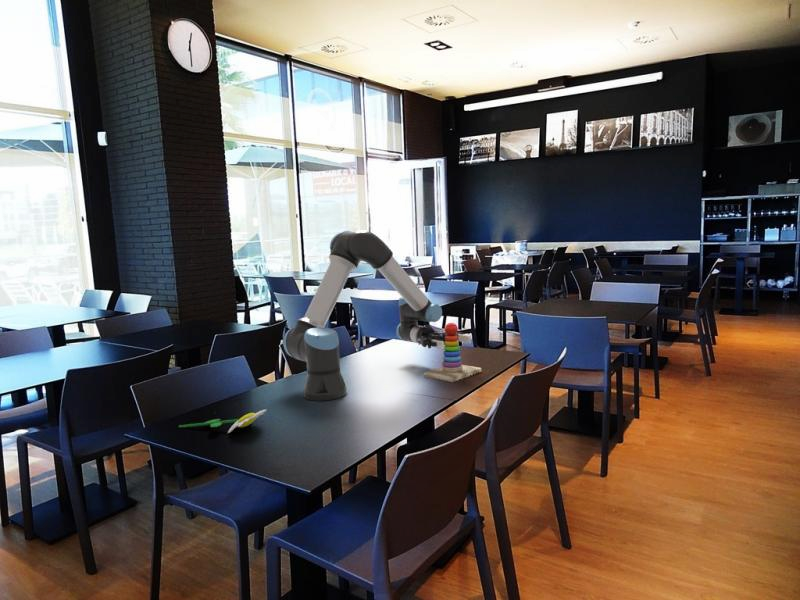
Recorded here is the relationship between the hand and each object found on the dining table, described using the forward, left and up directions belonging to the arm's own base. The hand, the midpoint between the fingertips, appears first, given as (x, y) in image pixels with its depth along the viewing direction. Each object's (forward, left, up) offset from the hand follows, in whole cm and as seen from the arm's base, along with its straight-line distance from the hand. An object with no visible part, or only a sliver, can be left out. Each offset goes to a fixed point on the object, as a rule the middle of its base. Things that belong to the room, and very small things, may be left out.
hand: (456, 342), depth 212 cm
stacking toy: (0, +3, -12) cm, 12 cm away
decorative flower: (-88, +21, -13) cm, 91 cm away
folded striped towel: (+1, +3, -13) cm, 13 cm away
